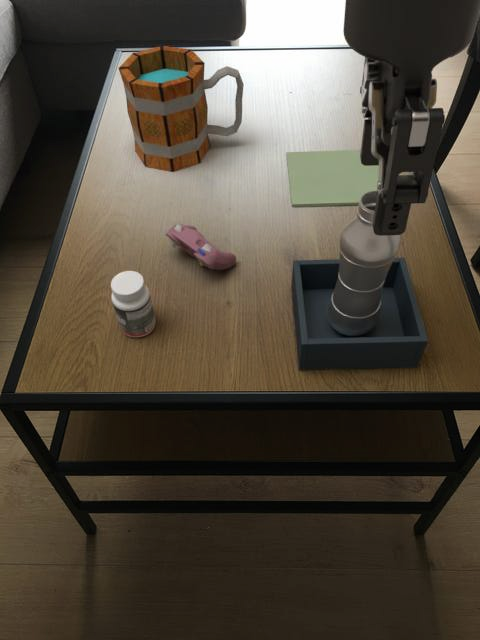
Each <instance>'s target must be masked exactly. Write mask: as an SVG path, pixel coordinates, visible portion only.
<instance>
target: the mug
mask: <svg viewBox="0 0 480 640" xmlns="http://www.w3.org/2000/svg"><path fill="white" fill-rule="evenodd" d="M118 71H119V75H120V77H121V81H122V83H123V87H124V93H125V100H126V110H127V115H128V119H129V121H130V126H131V128H132V133H133V138H134V140H133V141H134V152H135V153H136V154H137V156H138V158H139V160H140V161H141V162H142V164H143V166H144V167H146V168H150V169H156V170H162V171H167V172H171V173H173V172H176V171H179V170H184V169H185V168H190V167H193V166H196V165H199V164H201V163H202V161H203V160H204V158H205V156H206V155H207V154H208V153H209V152H208V151H209V150H210V148H211V142H210V136H209V135H216V136H217V135H218V136H223V137H230V136H233V135H234V134H236V133H238V131H239V128H240V127H241V124H242V121H243V97H244V87H245V86H244V81H243V79H242V76H241V74H240V71H239V70H238V69H236V68H233V67H232V66H228V65H226V66H224V67H222V68H219V69H217V70H216V71H215V72H214V74H213V75H212V76H211V77H209V78H207V79H205V62H204V61H203V60H202V58H200V57H199V56H198V55H197V54H196V53H195V52H194V51H193V49H191V48H190V49H189V48H182V47H176V46H168V45H160V46H156V47H152V48H148V49H143V50H139V51H135V52H132V53H131V54H130V55H129V57H127V58H126V59H125V61H124V62H122V64H121V65H120V66H119V67H118ZM227 76H229V77H232V78H234V79H235V83H236V91H235V92H236V93H235V99H234V100H235V101H234V103H235V104H234V105H235V107H234V109H235V120H234V122H233V124H232V125H230V126H227V127H225V126H221V125H215V124H208V111H209V106H208V102H207V96H206V90H208V89H212V88H214V87H215V86H216V85H217V83H219V81H220V80H222V79H223V78H225V77H227Z"/></svg>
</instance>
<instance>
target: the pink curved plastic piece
mask: <svg viewBox="0 0 480 640" xmlns="http://www.w3.org/2000/svg"><path fill="white" fill-rule="evenodd" d="M165 235H166V236H167V237H168V239H169V240H170V241H169V242H168V243H169V245H170V247H172V248H176V246H178V247H180V248H181V249H182V250H183V251H184V252H186V253H187V254H188V255H190V256H191V257H192V258H196V260H197V261H198V262H199V263H198V264H199V266H201V267H204V266H205V267H206V268H207V269H210V270H227V269H230V268H231V267H232V268H233V266H234V265H236V262H237V256H236V254H234V253H233V252H227V251H221V250H220V249H218V248H217V247H215V246H214V244H212V243H211V242H209V240H207V239H206V238H205V237H204V235H203V234H202V233H201V232H200V231H198V229H197V227H195V226H194V225H186V224H183V223H179V222H178V223H176V224H175V225H173V226H171V227H170V228H169V229H168V230H167V232H165Z"/></svg>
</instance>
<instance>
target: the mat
mask: <svg viewBox="0 0 480 640" xmlns="http://www.w3.org/2000/svg"><path fill="white" fill-rule="evenodd" d="M360 153H361V149H351V150H350V149H347V150H345V149H343V150H316V151H315V150H313V151H311V150H309V151H287V152H285V156H286V165H287V173H288V175H287V176H288V182H289V183H288V184H289V194H290V202H291V207H292V208H300V207H301V208H303V207H307V208H308V207H337V206H338V207H339V206H343V207H344V206H359V200H360V198H361V196H362V195H363V194H364V193H366V192H368V191H373V190H377V182H378V174H379V165H374V166H365V165H363V164H362V163H361V159H360Z"/></svg>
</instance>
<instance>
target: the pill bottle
mask: <svg viewBox="0 0 480 640" xmlns="http://www.w3.org/2000/svg"><path fill="white" fill-rule="evenodd" d="M110 289H111V296H110V297H111V298H110V299H111V303H112V307H113V309H114V312H115V315H116V318H117V321H118V324H119V327H120V330H121V332H122V333H123V334H124V335H126V336H127V337H130V338H142V337H146V336H147V335H149V334H150V333H152V332H153V330H154V329H155V328H156V324H157V318H156V314H155V310H154V307H153V302H152V299H151V297H152V296H151V292H150V290H149V288H148V286H147V285H146V282H145V279H144V277H143V275H142V274H141V273H139V272H138V271H135V270H124V271H121V272H119V273H117V274H116V275H115V276H114V277H113V278H112V280H111V282H110Z"/></svg>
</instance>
